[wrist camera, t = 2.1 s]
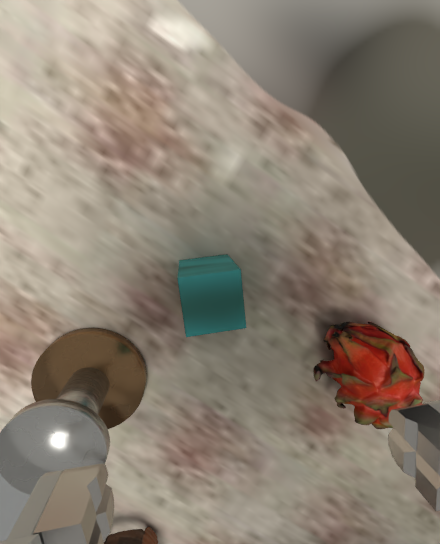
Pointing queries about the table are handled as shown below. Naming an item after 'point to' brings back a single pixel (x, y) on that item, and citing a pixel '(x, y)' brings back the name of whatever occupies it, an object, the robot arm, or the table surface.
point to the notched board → (10, 507)
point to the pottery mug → (133, 537)
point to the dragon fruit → (371, 371)
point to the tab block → (211, 295)
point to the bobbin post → (72, 406)
